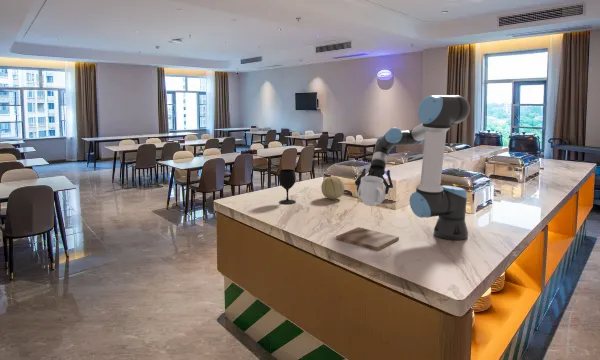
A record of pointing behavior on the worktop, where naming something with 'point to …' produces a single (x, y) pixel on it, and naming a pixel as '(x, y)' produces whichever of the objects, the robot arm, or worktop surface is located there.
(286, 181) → the wine glass
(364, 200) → the mug
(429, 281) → the worktop surface
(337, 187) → the cantaloupe
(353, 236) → the serving board
